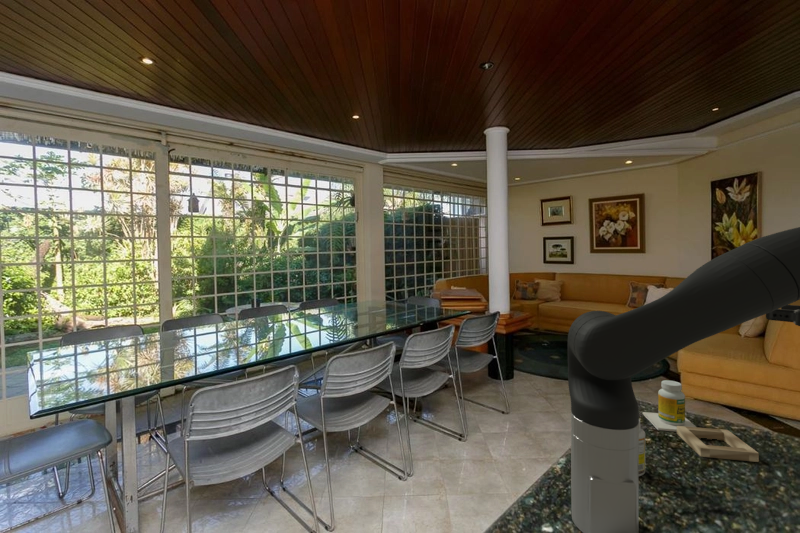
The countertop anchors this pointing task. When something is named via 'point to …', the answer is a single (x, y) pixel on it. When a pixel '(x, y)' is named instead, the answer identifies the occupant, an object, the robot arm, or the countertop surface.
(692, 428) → the socket block
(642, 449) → the supplement bottle
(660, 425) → the coaster
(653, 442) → the countertop surface
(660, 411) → the supplement bottle
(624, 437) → the robot arm
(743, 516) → the countertop surface
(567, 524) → the countertop surface
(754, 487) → the countertop surface
